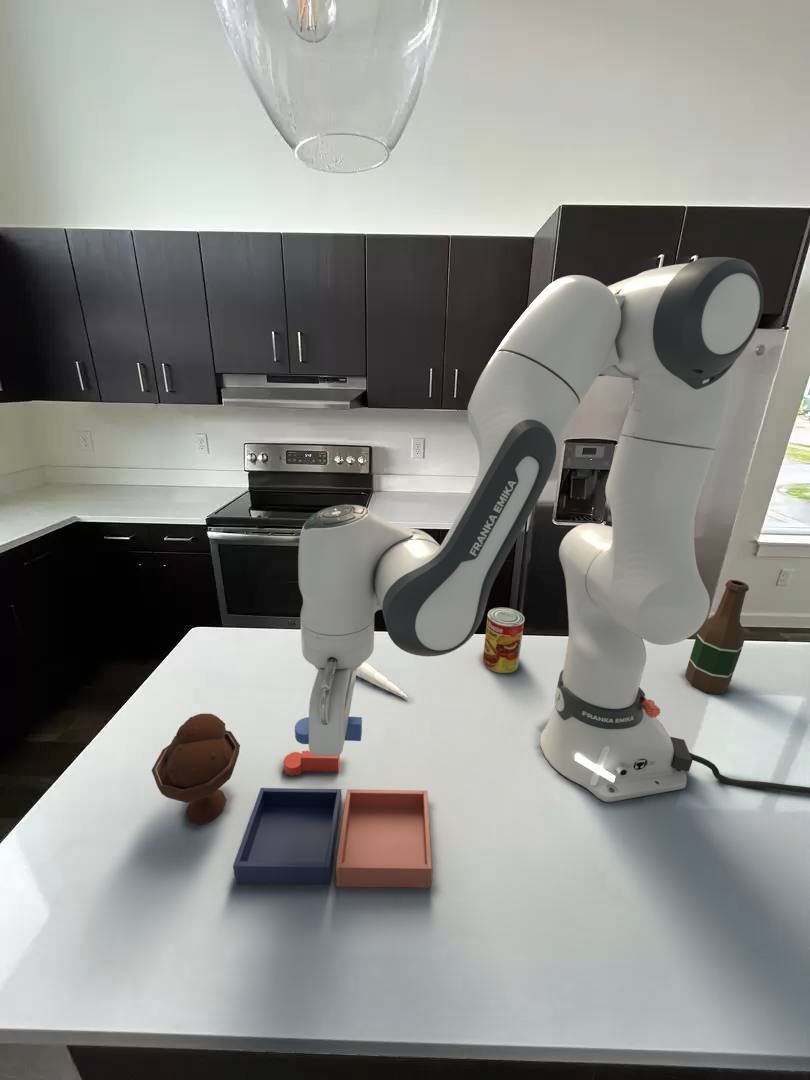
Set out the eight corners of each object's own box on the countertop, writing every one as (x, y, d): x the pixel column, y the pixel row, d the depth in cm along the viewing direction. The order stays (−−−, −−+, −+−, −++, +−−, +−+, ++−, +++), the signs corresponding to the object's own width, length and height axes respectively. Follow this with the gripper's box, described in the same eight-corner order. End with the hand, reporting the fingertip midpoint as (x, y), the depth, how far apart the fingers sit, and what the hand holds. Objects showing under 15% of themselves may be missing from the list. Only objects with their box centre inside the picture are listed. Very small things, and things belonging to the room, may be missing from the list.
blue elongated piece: (362, 728, 59) (362, 712, 58) (360, 746, 56) (360, 730, 55) (298, 725, 59) (297, 709, 58) (292, 743, 56) (291, 727, 55)
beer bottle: (726, 680, 93) (760, 580, 84) (728, 700, 87) (766, 595, 78) (684, 667, 97) (713, 571, 88) (683, 686, 90) (715, 584, 82)
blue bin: (342, 806, 63) (341, 788, 62) (330, 886, 53) (329, 867, 52) (262, 805, 63) (260, 787, 62) (236, 885, 53) (232, 866, 52)
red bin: (426, 807, 63) (427, 790, 62) (430, 887, 53) (431, 869, 52) (347, 806, 63) (346, 789, 62) (336, 886, 53) (335, 867, 52)
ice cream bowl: (166, 789, 65) (148, 710, 60) (244, 766, 69) (233, 690, 64) (159, 856, 56) (137, 770, 51) (249, 824, 60) (237, 742, 55)
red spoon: (340, 760, 71) (340, 747, 70) (337, 776, 68) (337, 763, 67) (287, 759, 71) (285, 746, 70) (281, 775, 68) (280, 762, 67)
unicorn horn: (395, 710, 82) (396, 690, 80) (317, 659, 96) (316, 641, 94) (411, 698, 85) (412, 678, 83) (333, 650, 99) (333, 633, 98)
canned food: (478, 652, 100) (483, 607, 96) (511, 651, 101) (517, 606, 97) (488, 674, 93) (493, 626, 89) (523, 672, 94) (530, 625, 89)
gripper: (353, 695, 43) (353, 796, 47) (370, 598, 62) (369, 677, 66) (290, 692, 42) (296, 794, 47) (326, 597, 62) (328, 676, 66)
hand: (339, 725), depth 57 cm, fingers closed on blue elongated piece
